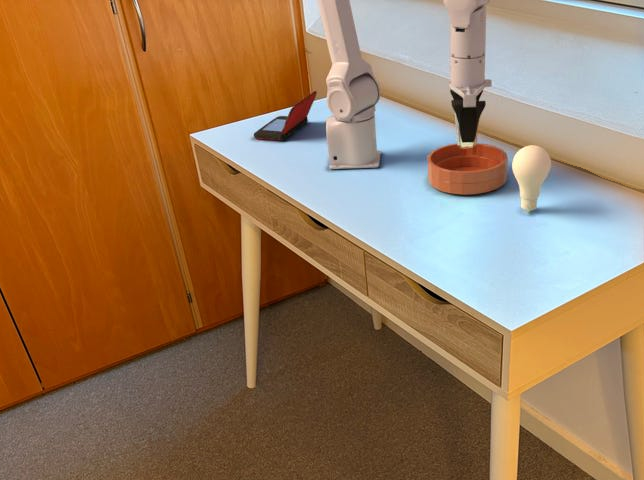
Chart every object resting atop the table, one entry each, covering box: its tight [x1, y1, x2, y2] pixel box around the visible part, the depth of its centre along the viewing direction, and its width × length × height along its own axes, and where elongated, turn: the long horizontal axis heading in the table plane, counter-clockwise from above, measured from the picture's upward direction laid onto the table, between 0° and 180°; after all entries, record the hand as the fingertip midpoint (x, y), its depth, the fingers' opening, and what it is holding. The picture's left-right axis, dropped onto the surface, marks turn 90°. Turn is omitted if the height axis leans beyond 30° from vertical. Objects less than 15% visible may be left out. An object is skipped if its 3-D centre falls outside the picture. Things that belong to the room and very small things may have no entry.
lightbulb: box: [511, 144, 552, 213], centre depth 116 cm, size 6×6×11 cm
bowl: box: [427, 142, 509, 196], centre depth 130 cm, size 14×14×4 cm
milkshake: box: [453, 110, 480, 156], centre depth 125 cm, size 4×5×10 cm
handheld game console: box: [253, 90, 318, 142], centre depth 155 cm, size 12×11×7 cm
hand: (467, 136), depth 126 cm, fingers closed on milkshake, 5 cm apart
